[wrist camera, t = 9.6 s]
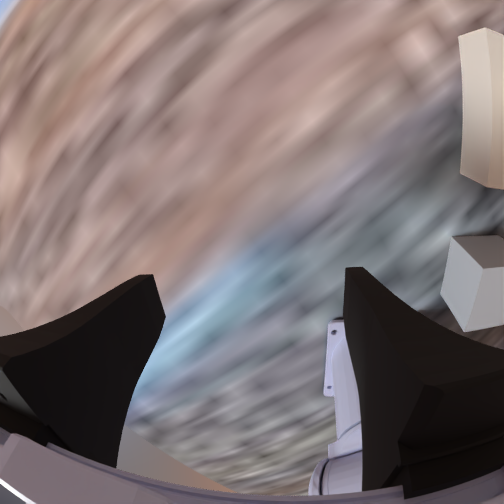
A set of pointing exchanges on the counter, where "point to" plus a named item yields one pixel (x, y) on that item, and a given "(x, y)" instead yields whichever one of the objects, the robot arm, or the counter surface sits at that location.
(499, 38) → the base block
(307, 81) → the counter surface
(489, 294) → the grey cube
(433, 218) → the counter surface
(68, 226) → the counter surface
